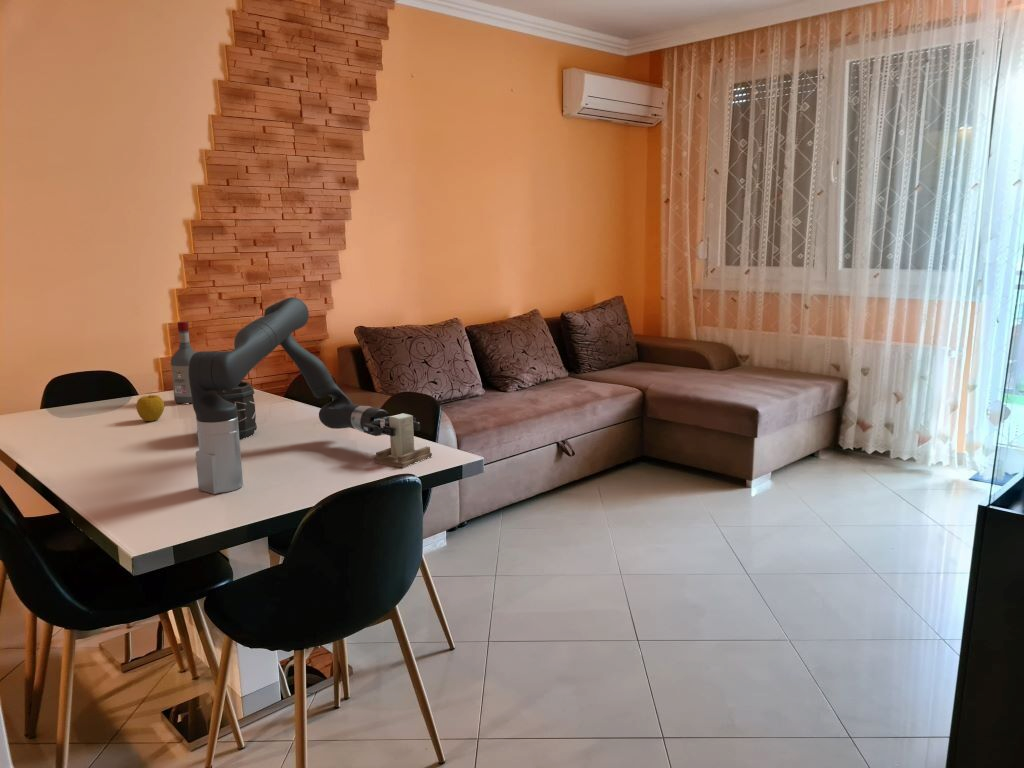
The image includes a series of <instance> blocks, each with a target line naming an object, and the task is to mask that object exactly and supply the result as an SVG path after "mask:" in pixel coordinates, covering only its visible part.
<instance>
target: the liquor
mask: <svg viewBox="0 0 1024 768" xmlns="http://www.w3.org/2000/svg"><path fill="white" fill-rule="evenodd" d="M177 331H178V340H179V345H178V349H177V351H176V352H175V353H174V354H173V355H172V357H171V359H170V366H171V374H172V375H171V377H172V379H171V380H172V387H173V398H174V401H175V403H176V404H177V403H192V396H191V389H190V383H189V374H188V368H189V362H190V359H191V357H192V355H193V354H194V353H196V352H197V351H195V350H194V349H193V348H192V346H191V343H190V333H189V331H190V328H189V321H178V322H177Z"/></svg>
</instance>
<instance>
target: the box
mask: <svg viewBox="0 0 1024 768" xmlns="http://www.w3.org/2000/svg"><path fill="white" fill-rule="evenodd" d="M413 417H414V415H411V414H408V413H403V412H402V413H400V414H399V413H398V414H396V415H390V417H389V423H390V427H392V428H395V434H396V435H395V436H389V437H390V438H389V439H390V440H389V441H390V448H391V456H395V457H399V456H402V455H404V454H407V453H410V452H413V451H414V450H415V436H414V435H415V434H414V433H415V432H414V431H415V430H413Z"/></svg>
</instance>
